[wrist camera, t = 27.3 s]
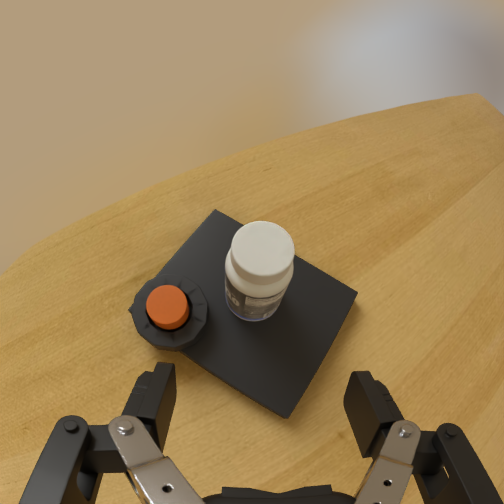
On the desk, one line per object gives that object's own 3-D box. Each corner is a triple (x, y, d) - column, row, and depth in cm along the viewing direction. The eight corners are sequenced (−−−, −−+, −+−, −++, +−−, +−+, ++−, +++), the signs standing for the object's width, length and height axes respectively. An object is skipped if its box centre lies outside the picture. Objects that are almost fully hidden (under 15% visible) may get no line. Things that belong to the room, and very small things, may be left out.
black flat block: (124, 323, 26) (114, 313, 23) (215, 216, 32) (214, 198, 29) (277, 429, 22) (284, 431, 20) (353, 297, 29) (364, 285, 26)
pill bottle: (221, 274, 27) (220, 218, 20) (274, 268, 28) (291, 211, 21) (229, 326, 25) (230, 286, 18) (285, 318, 26) (309, 275, 18)
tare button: (142, 314, 24) (137, 308, 22) (166, 285, 25) (163, 277, 24) (173, 337, 23) (169, 332, 22) (197, 306, 24) (195, 299, 23)
